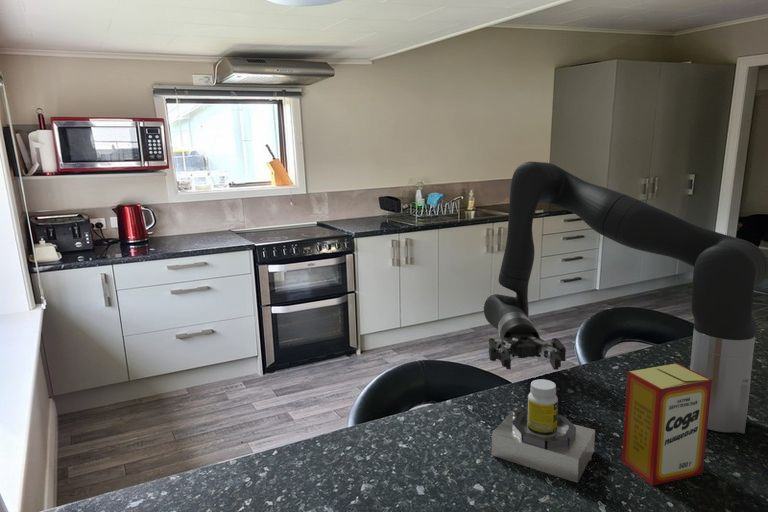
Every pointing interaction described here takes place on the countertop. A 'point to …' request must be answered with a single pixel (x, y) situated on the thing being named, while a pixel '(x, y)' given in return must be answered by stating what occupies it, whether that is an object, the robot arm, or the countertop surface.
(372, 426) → the countertop surface
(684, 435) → the baking soda box
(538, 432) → the supplement bottle
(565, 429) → the octagon ring base plate
